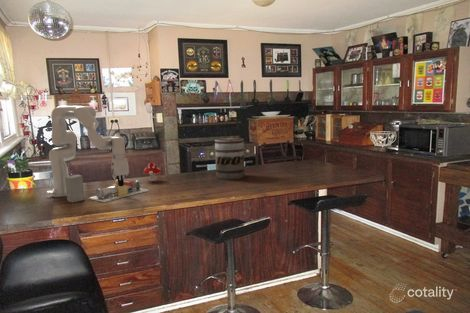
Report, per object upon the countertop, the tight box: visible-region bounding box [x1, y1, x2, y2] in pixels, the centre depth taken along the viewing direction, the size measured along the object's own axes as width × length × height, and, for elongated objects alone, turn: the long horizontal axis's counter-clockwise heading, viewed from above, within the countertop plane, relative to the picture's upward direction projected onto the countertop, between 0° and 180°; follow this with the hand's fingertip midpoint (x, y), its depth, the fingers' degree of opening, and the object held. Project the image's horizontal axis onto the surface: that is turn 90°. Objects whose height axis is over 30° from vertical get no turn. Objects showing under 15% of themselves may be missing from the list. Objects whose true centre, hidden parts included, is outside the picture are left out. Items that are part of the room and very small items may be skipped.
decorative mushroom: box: [142, 161, 162, 182], centre depth 274 cm, size 14×14×15 cm
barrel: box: [214, 137, 246, 181], centre depth 282 cm, size 22×22×30 cm
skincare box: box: [65, 174, 85, 204], centre depth 221 cm, size 8×7×16 cm
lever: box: [114, 179, 135, 187], centre depth 230 cm, size 17×4×3 cm, turn 53°
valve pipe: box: [88, 180, 149, 203], centre depth 234 cm, size 34×16×7 cm, turn 143°
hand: (121, 185), depth 225 cm, fingers closed
